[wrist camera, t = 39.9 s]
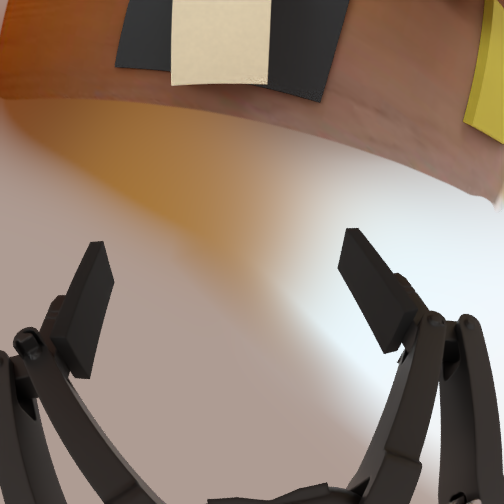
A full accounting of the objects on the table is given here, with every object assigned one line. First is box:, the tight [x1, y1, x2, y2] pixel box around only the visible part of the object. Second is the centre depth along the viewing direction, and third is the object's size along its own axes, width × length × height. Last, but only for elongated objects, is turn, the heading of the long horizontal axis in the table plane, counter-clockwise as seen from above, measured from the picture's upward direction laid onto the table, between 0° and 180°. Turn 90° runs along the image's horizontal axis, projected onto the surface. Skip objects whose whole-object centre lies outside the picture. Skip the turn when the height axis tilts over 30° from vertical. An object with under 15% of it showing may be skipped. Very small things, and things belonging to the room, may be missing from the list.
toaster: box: [171, 0, 271, 86], centre depth 24 cm, size 10×6×13 cm
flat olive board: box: [463, 0, 504, 145], centre depth 30 cm, size 12×2×24 cm
